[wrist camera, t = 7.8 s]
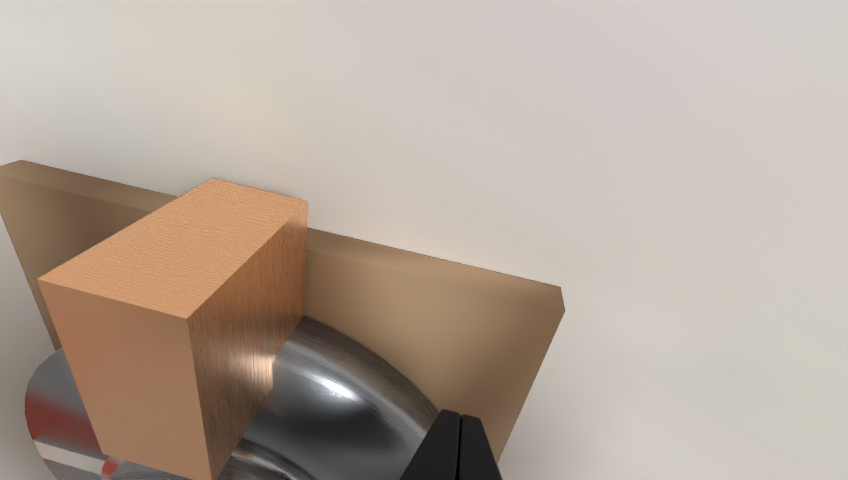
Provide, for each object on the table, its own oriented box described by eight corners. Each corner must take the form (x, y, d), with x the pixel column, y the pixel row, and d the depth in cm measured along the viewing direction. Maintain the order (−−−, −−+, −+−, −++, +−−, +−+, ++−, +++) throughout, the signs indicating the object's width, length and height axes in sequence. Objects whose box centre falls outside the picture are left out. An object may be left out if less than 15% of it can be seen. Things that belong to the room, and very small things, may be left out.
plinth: (560, 287, 11) (565, 310, 10) (434, 585, 21) (432, 609, 20) (20, 159, 12) (-17, 171, 11) (139, 500, 22) (124, 520, 21)
